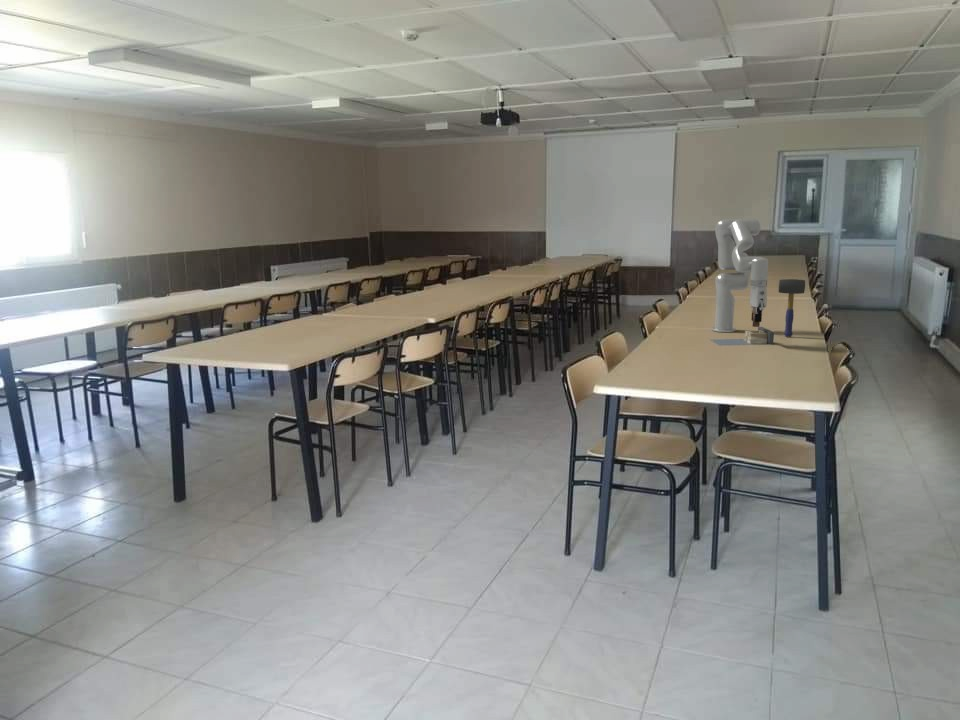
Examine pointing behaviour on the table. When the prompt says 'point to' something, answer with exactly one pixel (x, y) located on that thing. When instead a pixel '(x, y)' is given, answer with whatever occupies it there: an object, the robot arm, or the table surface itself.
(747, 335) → the socket block
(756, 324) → the dowel
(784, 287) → the rubber mallet
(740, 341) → the jig board
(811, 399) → the table surface
